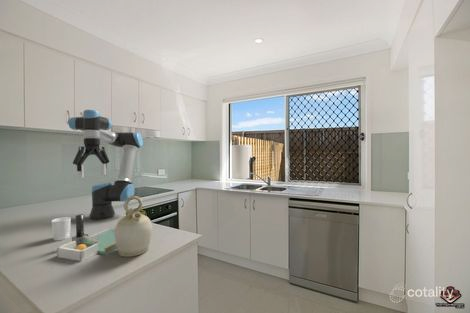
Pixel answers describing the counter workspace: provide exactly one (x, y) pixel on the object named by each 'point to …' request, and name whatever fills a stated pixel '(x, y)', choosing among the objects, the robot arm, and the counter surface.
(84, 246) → the ball
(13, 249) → the counter surface
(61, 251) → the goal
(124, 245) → the jug
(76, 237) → the black lever handle
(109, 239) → the pitch
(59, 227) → the white cup
